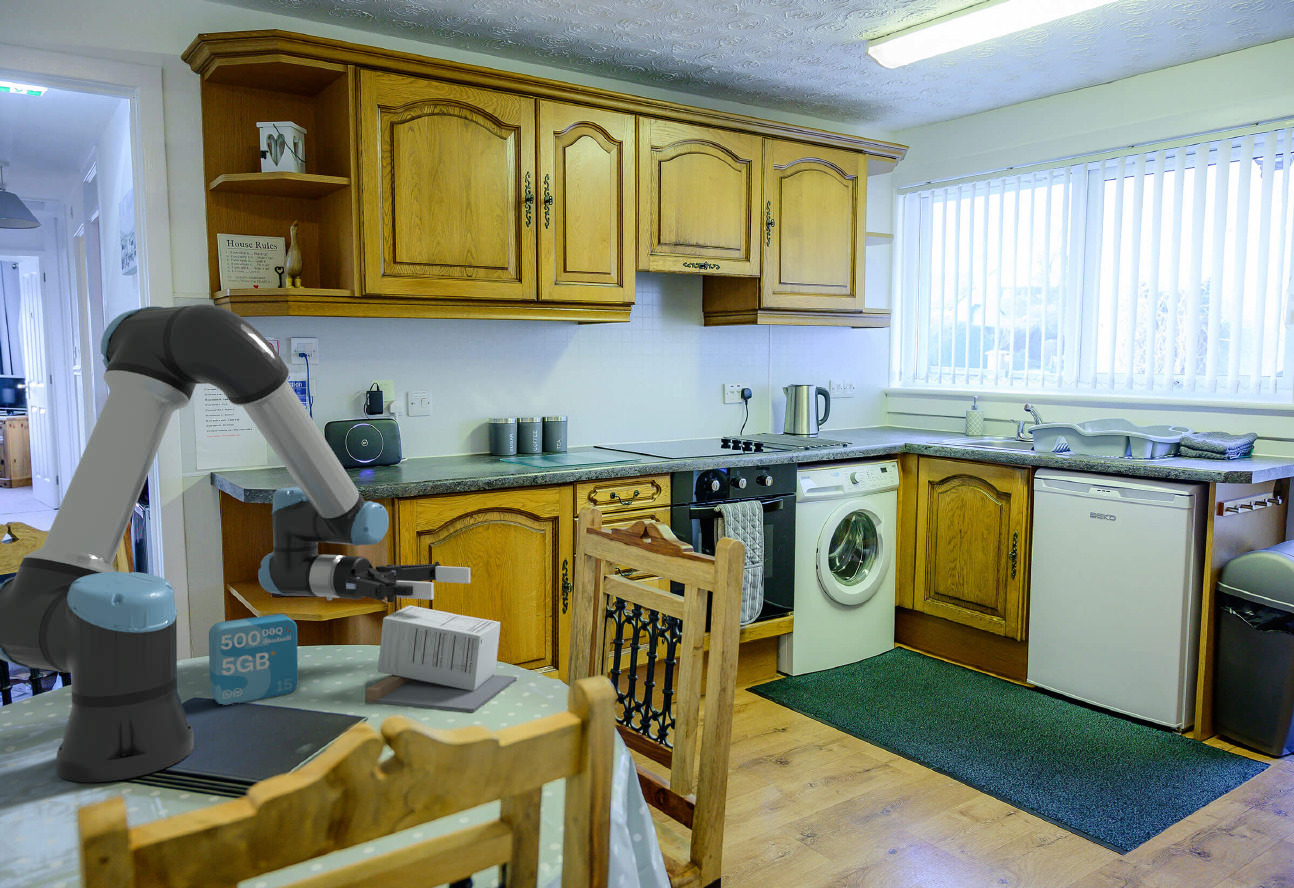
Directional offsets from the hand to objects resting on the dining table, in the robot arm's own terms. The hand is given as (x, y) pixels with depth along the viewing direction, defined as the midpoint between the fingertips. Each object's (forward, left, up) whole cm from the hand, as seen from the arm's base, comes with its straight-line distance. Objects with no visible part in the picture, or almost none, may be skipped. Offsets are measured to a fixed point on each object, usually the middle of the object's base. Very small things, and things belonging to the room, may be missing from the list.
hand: (452, 582), depth 150 cm
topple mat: (+4, -11, -15) cm, 19 cm away
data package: (-23, -21, -15) cm, 35 cm away
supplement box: (-7, -8, -8) cm, 13 cm away
